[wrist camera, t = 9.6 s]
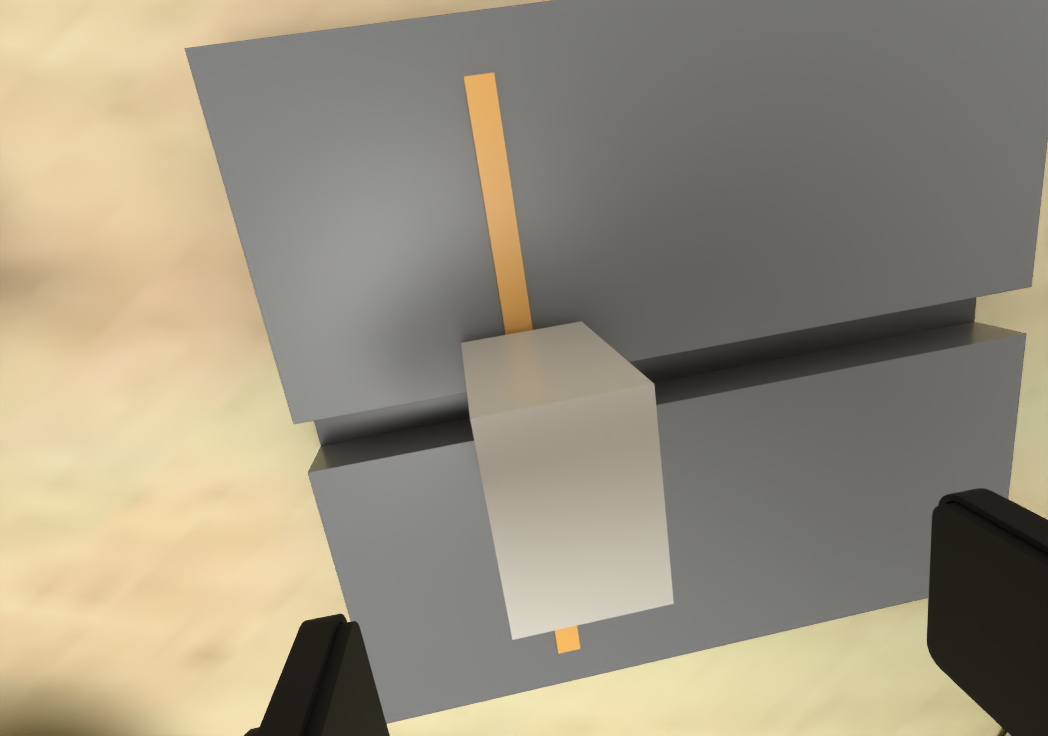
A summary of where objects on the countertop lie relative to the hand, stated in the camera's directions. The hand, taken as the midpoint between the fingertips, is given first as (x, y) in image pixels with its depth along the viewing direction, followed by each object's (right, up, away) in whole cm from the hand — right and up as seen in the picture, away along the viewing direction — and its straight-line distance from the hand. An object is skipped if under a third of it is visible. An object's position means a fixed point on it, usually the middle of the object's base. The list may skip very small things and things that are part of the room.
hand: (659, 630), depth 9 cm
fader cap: (-2, +3, +10) cm, 11 cm away
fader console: (+3, +5, +12) cm, 13 cm away
